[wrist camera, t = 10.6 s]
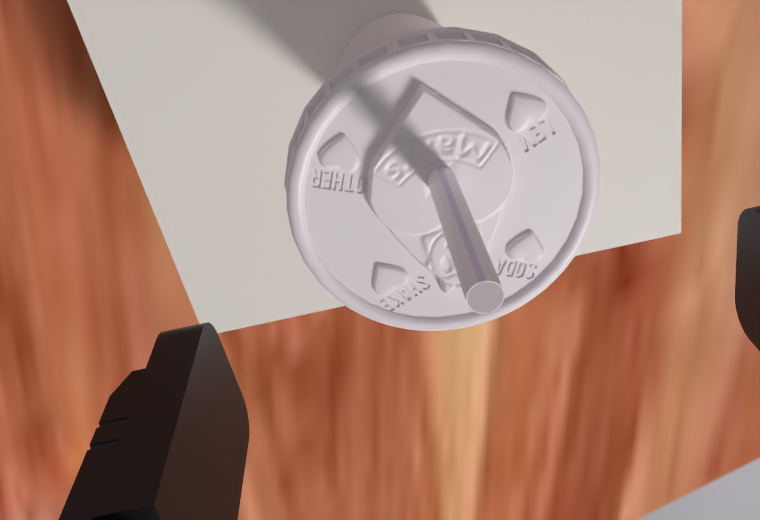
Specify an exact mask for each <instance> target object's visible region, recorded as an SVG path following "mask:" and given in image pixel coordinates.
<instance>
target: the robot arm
mask: <svg viewBox="0 0 760 520" xmlns="http://www.w3.org/2000/svg"><path fill="white" fill-rule="evenodd" d="M735 304H736V310H737V314H738V318H739V321H740V323H741V326H742V328H743V330H744V332H745V334H746V335H747V337H748V338H749V339H750V341H751V342H752V343H753V344H754V345H755V346H756V347H757V349H758V350H759V351H760V206H758V207H753V208H748V209H745V210H744V211H743V212H742V213H741V215H740V217H739V221H738V234H737V259H736V284H735ZM99 425H100V427H99V428H96V431H95V433H94V436H93V438H92V441H91V443H90V447H91V449H90V450H87V453H86V455H85V457H84V460H83V462H82V465H81V467H80V469H79V472H78V474H77V477H76V479H75V482H74V484H73V486H72V489H71V491H70V494H69V496H68V498H67V501H66V503H65V506H64V508H63V511H62V513H61V515H60V518H59V520H237V519H238V512H239V505H240V498H241V491H242V484H243V477H244V470H245V463H246V456H247V449H248V442H249V421H248V414H247V409H246V405H245V401H244V398H243V396H242V393H241V391H240V388H239V386H238V383H237V381H236V378H235V376H234V373H233V371H232V368H231V366H230V363H229V361H228V358H227V356H226V353H225V351H224V348H223V346H222V343H221V341H220V338H219V336H218V333H217V331H216V329H215V328H214V326H213V325H212V324H211V323H209V322H207V323H202V324H197V325H193V326H188V327H183V328H179V329H174V330H169V331H165V332H161V333H160V334H159V335H158V337H157V339H156V342H155V345H154V348H153V350H152V353H151V356H150V359H149V361H148V364H147V367H146V369H141V370H136V371H132V372H131V373H130V374H129V376H128V377H127V378H126V379H125V380H124V381H123V382H122V383H121V384H120V386H119V387H118V388H117V389H116V390H115V391H114V392H113V393H112V395H111V396H110V397H109V399H108V402H107V404H106V407H105V409H104V412H103V414H102V416H101V419H100V421H99Z"/></svg>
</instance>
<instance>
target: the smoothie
mask: <svg viewBox="0 0 760 520" xmlns="http://www.w3.org/2000/svg"><path fill="white" fill-rule="evenodd" d="M284 185H285V191H286V206H287V215H288V222H289V226H290V230H291V234H292V237H293V240H294V242H295V245H296V248H297V250H298V252H299V254H300V256H301V258H302V260H303V262H304V263H305V265H306V266H307V268H308V269H309V271H310V272H311V274H312V275H313V276H314V277H315V279H316V280H317V281H318V282H319V284H320V285H321V286H322V287H323V288H324V289H325V290H326V291H327V292H328V293H330V294H331V295H332V296H333V297H334V298H336V299H337V300H338V301H339V302H341V303H342V304H344V305H345V306H347V307H348V308H350V309H351V310H353V311H355V312H357V313H359V314H361V315H363V316H365V317H367V318H369V319H372V320H374V321H377V322H380V323H383V324H386V325H390V326H394V327H398V328H404V329H411V330H422V331H443V330H453V329H460V328H465V327H470V326H474V325H478V324H482V323H485V322H488V321H490V320H493V319H496V318H498V317H501V316H503V315H505V314H507V313H510V312H511V311H513V310H515V309H517V308H519V307H521V306H522V305H524V304H525V303H527V302H528V301H530V300H532V299H533V298H534V297H536V296H537V295H538V294H540V293H541V292H542V291H543V290H545V289H546V288H547V287H548V286H549V285H550V284H551V283H552V282H554V281H555V280H556V279H557V277H558V276H559V275H560V274H561V273H562V272H563V271H564V270H565V269H566V267H567V266H568V265H569V263H570V262H571V261H572V260H573V258H574V257H575V255H576V254H577V252H578V251H579V249H580V247H581V246H582V244H583V242H584V240H585V238H586V236H587V234H588V232H589V229H590V227H591V225H592V222H593V219H594V216H595V213H596V209H597V205H598V200H599V195H600V186H601V162H600V154H599V148H598V144H597V140H596V136H595V133H594V131H593V128H592V125H591V123H590V121H589V119H588V117H587V115H586V113H585V110H584V109H583V107H582V106H581V104H580V103H579V101H578V100H577V98H576V97H575V96H574V94H573V93H572V92H571V91H570V90H569V88H568V86H567V85H566V83H565V81H564V80H563V79H562V78H561V77H560V76H559V75H558V74H557V73H556V72H555V71H554V70H553V69H552V68H551V67H550V66H548V65H547V64H546V63H545V62H544V61H543V60H542V59H541V58H540V57H539V56H538V55H537V54H536V53H535V52H533V51H531V50H528V49H526V48H524V47H522V46H520V45H518V44H516V43H514V42H512V41H510V40H508V39H506V38H504V37H502V36H500V35H498V34H494V33H488V32H482V31H477V30H471V29H465V28H459V27H443V26H441V25H439V24H437V23H434V22H432V21H430V20H428V19H426V18H424V17H421V16H418V15H415V14H410V13H391V14H386V15H383V16H380V17H378V18H375V19H373V20H372V21H370V22H368V23H367V24H365V25H364V26H363V27H362V28H360V29H359V30H358V31H357V32H356V34H355V35H354V36H353V37H352V39H351V40H350V42H349V44H348V45H347V47H346V50H345V52H344V54H343V57H342V59H341V61H340V63H339V66H338V68H337V70H336V71H334V72H333V73H332V74H331V75H330V76H329V77H328V79H327V80H326V81H325V82H324V84H323V85H322V86H321V87H320V89H319V90H318V91H317V92H316V94H315V95H314V96H313V98H312V99H311V100H310V101H309V103H308V104H307V105H306V106H305V108H304V110H303V113H302V115H301V117H300V120H299V122H298V124H297V127H296V129H295V132H294V134H293V136H292V139H291V141H290V143H289V148H288V156H287V165H286V173H285V181H284Z"/></svg>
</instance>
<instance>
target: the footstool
mask: <svg viewBox="0 0 760 520" xmlns="http://www.w3.org/2000/svg"><path fill="white" fill-rule="evenodd" d="M67 1H68V4H69V6H70V9H71V11H72V14H73V16H74V19H75V21H76V23H77V26H78V28H79V31H80V33H81V36H82V38H83V41H84V43H85V45H86V48H87V50H88V53H89V55H90V58H91V60H92V62H93V65H94V67H95V70H96V72H97V75H98V77H99V80H100V82H101V84H102V87H103V89H104V92H105V94H106V97H107V99H108V102H109V104H110V106H111V109H112V111H113V114H114V116H115V119H116V121H117V123H118V126H119V128H120V131H121V133H122V136H123V138H124V141H125V143H126V145H127V148H128V150H129V153H130V155H131V158H132V160H133V163H134V165H135V167H136V170H137V172H138V175H139V177H140V180H141V182H142V184H143V187H144V189H145V192H146V194H147V197H148V199H149V202H150V204H151V206H152V209H153V211H154V214H155V216H156V219H157V221H158V224H159V226H160V228H161V231H162V233H163V236H164V238H165V241H166V243H167V245H168V248H169V250H170V253H171V255H172V258H173V260H174V263H175V265H176V267H177V270H178V272H179V275H180V277H181V280H182V282H183V285H184V287H185V289H186V292H187V294H188V297H189V299H190V302H191V304H192V306H193V309H194V311H195V314H196V316H197V319H198V321H199V324H202V323H207V322H209V323H211V324H212V325H213V326H214V328H215V329H216V331H217V333H221V332H226V331H230V330H235V329H239V328H244V327H249V326H253V325H258V324H263V323H267V322H272V321H276V320H281V319H286V318H290V317H295V316H300V315H304V314H309V313H313V312H318V311H323V310H327V309H332V308H337V307H341V306H345V305H344V304H342V303H341V302H339V301H338V300H337V299H336V298H334V297H333V296H332V295H331V294H330V293H328V292H327V291H326V290H325V289H324V288H323V287H322V286H321V285H320V284H319V282H318V281H317V280H316V279H315V277H314V276H313V275H312V274H311V272H310V271H309V269H308V268H307V266H306V265H305V263H304V262H303V260H302V258H301V256H300V254H299V252H298V250H297V248H296V245H295V242H294V240H293V237H292V234H291V230H290V226H289V222H288V215H287V206H286V191H285V185H284V181H285V173H286V165H287V156H288V148H289V143H290V141H291V139H292V136H293V134H294V132H295V129H296V127H297V124H298V122H299V120H300V117H301V115H302V113H303V110H304V108H305V106H306V105H307V104H308V103H309V101H310V100H311V99H312V98H313V96H314V95H315V94H316V92H317V91H318V90H319V89H320V87H321V86H322V85H323V84H324V82H325V81H326V80H327V79H328V77H329V76H330V75H331V74H332V73H333V72H334V71H336V70H337V68H338V66H339V63H340V61H341V59H342V57H343V54H344V52H345V50H346V47H347V45H348V44H349V42H350V40H351V39H352V37H353V36H354V35H355V34H356V32H357V31H358V30H359V29H360V28H362V27H363V26H364V25H365V24H367V23H368V22H370V21H372V20H373V19H375V18H378V17H380V16H383V15H386V14H391V13H410V14H415V15H418V16H421V17H424V18H426V19H428V20H430V21H432V22H434V23H437V24H439V25H441V26H443V27H459V28H465V29H471V30H477V31H482V32H488V33H494V34H498V35H500V36H502V37H504V38H506V39H508V40H510V41H512V42H514V43H516V44H518V45H520V46H522V47H524V48H526V49H528V50H531V51H533V52H535V53H536V54H537V55H538V56H539V57H540V58H541V59H542V60H543V61H544V62H545V63H546V64H547V65H548V66H550V67H551V68H552V69H553V70H554V71H555V72H556V73H557V74H558V75H559V76H560V77H561V78H562V79H563V80H564V81H565V83H566V85H567V86H568V88H569V90H570V91H571V92H572V93H573V94H574V96H575V97H576V98H577V100H578V101H579V103H580V104H581V106H582V107H583V109H584V110H585V113H586V115H587V117H588V119H589V121H590V123H591V125H592V128H593V131H594V133H595V136H596V140H597V144H598V148H599V154H600V162H601V186H600V195H599V200H598V205H597V209H596V213H595V216H594V219H593V222H592V225H591V227H590V229H589V232H588V234H587V236H586V238H585V240H584V242H583V244H582V246H581V247H580V249H579V251H578V252H577V254H576V255H575V256H577V255H582V254H586V253H591V252H596V251H600V250H605V249H610V248H614V247H619V246H623V245H628V244H633V243H637V242H642V241H647V240H651V239H656V238H660V237H665V236H670V235H674V234H679V233H681V128H682V0H67Z"/></svg>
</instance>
